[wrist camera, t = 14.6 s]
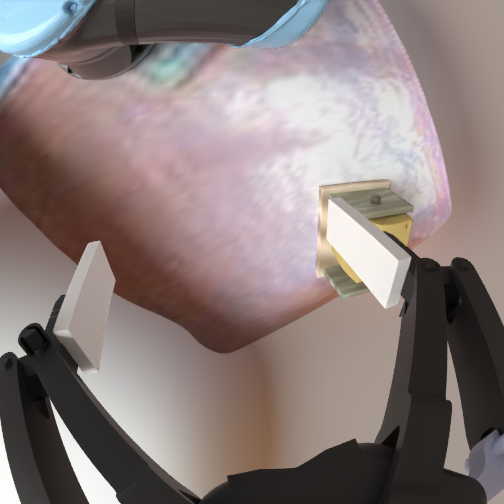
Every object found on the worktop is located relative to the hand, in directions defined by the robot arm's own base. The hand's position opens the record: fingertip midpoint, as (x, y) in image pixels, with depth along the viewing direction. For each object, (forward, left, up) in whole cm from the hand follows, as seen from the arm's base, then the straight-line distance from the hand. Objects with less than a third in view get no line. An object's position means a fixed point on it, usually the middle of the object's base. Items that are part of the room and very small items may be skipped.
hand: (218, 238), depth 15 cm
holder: (+18, +26, -27) cm, 41 cm away
